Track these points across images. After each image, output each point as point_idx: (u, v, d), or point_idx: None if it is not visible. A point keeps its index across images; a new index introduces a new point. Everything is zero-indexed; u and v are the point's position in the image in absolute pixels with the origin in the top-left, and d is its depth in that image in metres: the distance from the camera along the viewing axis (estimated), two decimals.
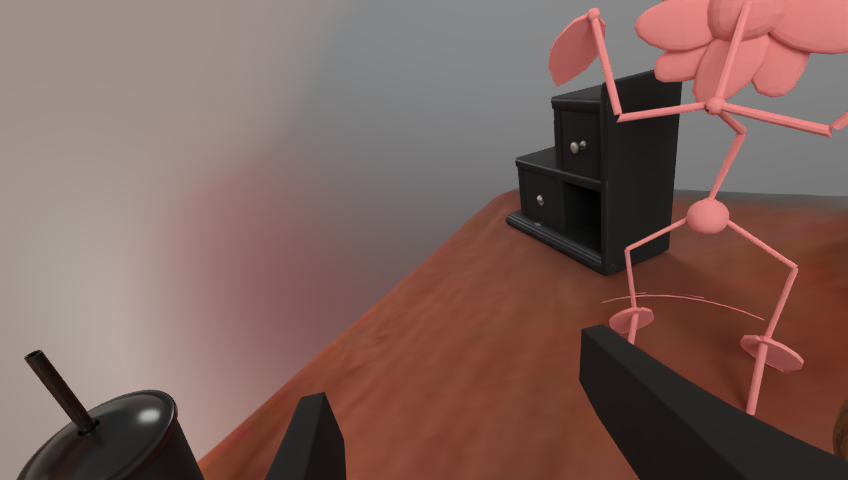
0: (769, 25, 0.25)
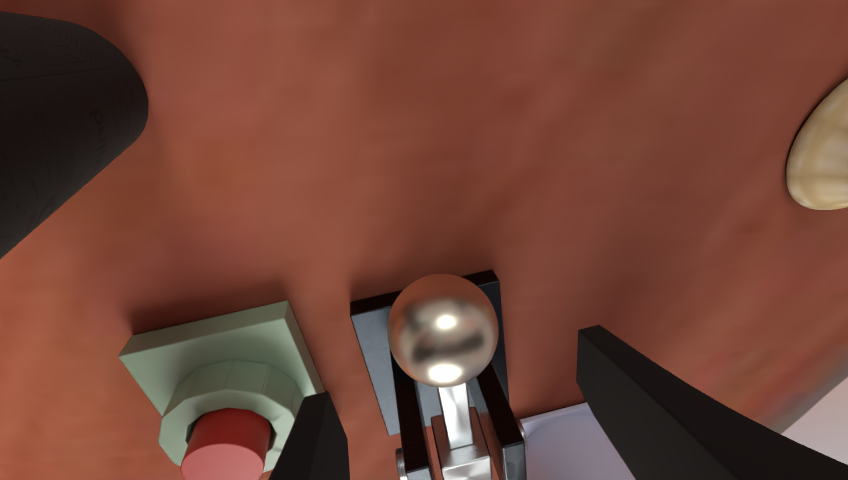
0: None
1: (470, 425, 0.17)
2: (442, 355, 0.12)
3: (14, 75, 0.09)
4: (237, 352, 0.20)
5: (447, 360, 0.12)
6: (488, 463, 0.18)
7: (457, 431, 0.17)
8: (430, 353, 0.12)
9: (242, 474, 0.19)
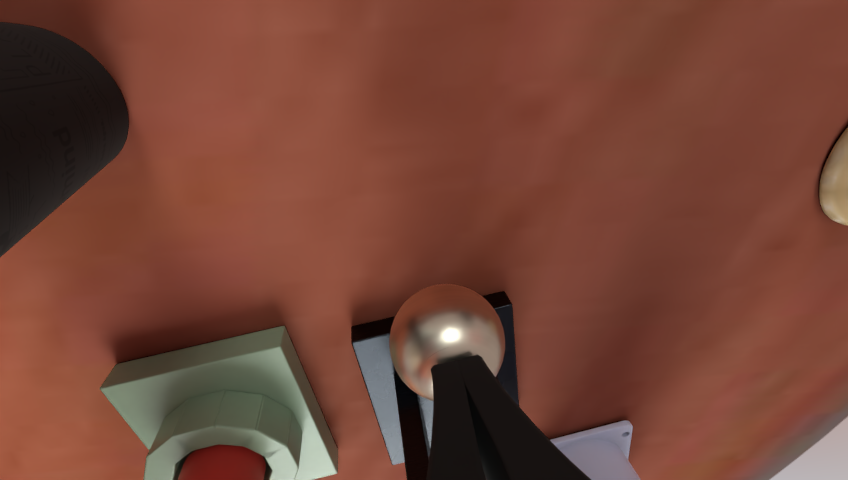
0: None
1: None
2: None
3: None
4: (229, 382, 0.19)
5: None
6: None
7: None
8: (433, 360, 0.11)
9: None
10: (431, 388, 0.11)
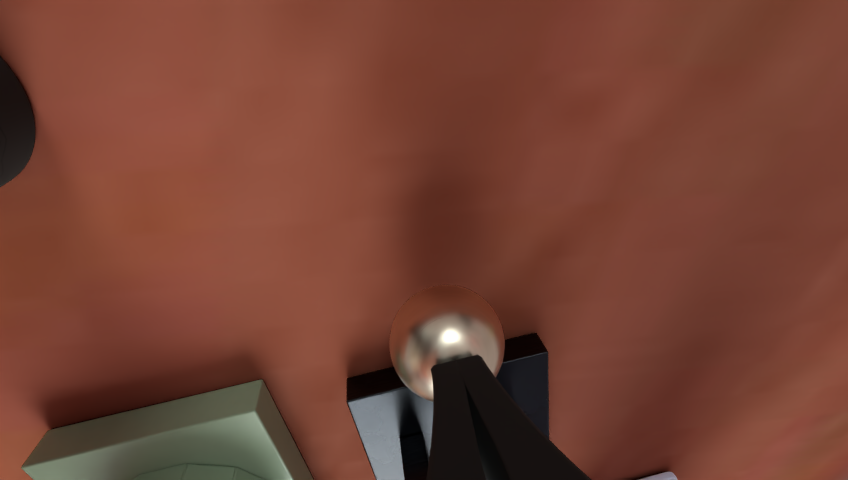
0: None
1: None
2: (438, 333, 0.11)
3: None
4: (191, 455, 0.15)
5: (444, 338, 0.11)
6: None
7: None
8: (426, 332, 0.11)
9: None
10: (426, 366, 0.11)
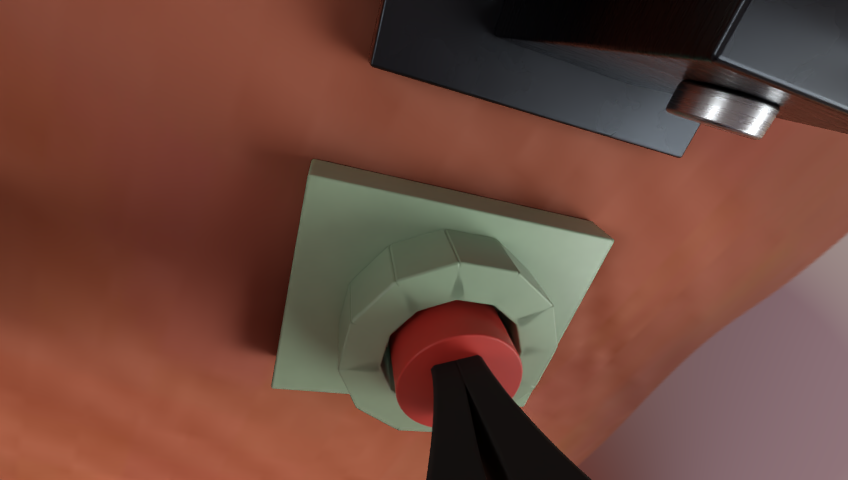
0: None
1: None
2: None
3: None
4: (341, 271, 0.12)
5: None
6: None
7: None
8: None
9: (491, 371, 0.11)
10: None
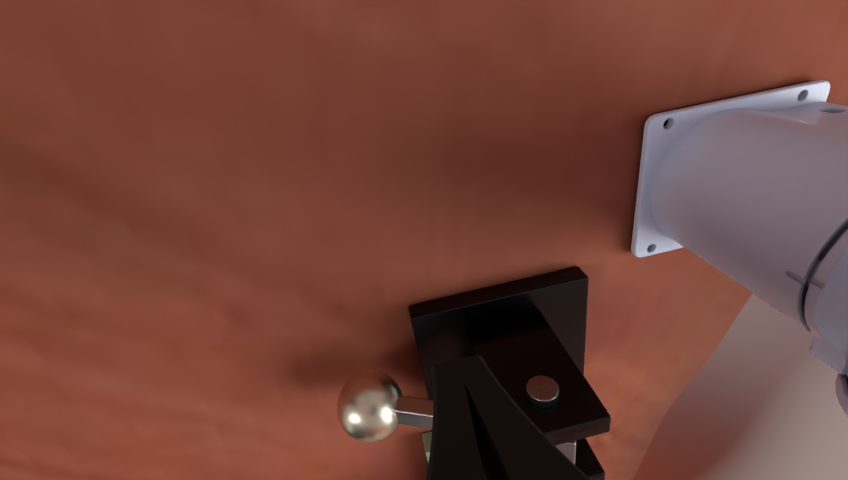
0: None
1: None
2: (346, 431, 0.21)
3: None
4: None
5: (348, 432, 0.21)
6: None
7: None
8: (347, 433, 0.22)
9: None
10: (362, 441, 0.21)
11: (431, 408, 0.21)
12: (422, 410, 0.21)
